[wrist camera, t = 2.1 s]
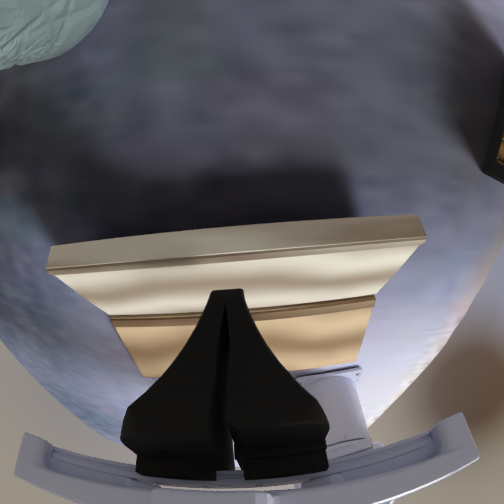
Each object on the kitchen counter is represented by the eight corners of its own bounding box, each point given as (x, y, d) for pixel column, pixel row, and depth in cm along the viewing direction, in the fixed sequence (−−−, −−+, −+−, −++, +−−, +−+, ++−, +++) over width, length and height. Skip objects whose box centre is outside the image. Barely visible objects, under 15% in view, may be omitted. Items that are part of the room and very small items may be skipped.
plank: (371, 277, 23) (376, 295, 22) (111, 298, 23) (109, 316, 22) (417, 214, 15) (427, 238, 14) (51, 246, 15) (45, 270, 14)
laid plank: (351, 350, 28) (356, 362, 27) (146, 365, 28) (143, 378, 27) (369, 285, 23) (376, 298, 22) (115, 306, 23) (109, 319, 22)
